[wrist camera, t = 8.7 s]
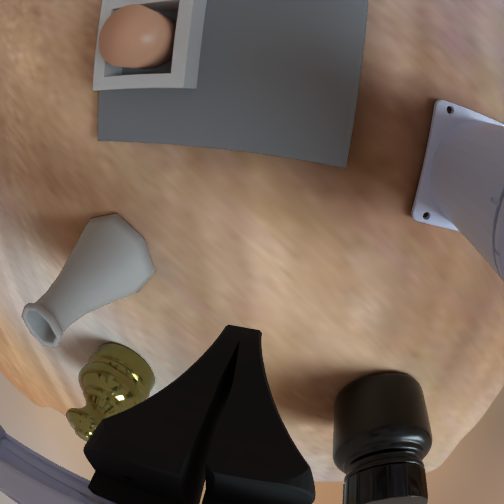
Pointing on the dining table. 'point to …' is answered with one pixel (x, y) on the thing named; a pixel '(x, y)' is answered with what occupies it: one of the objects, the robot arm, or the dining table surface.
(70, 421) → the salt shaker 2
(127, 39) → the terracotta button
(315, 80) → the button panel
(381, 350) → the dining table surface
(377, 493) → the ink bottle
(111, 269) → the flask
